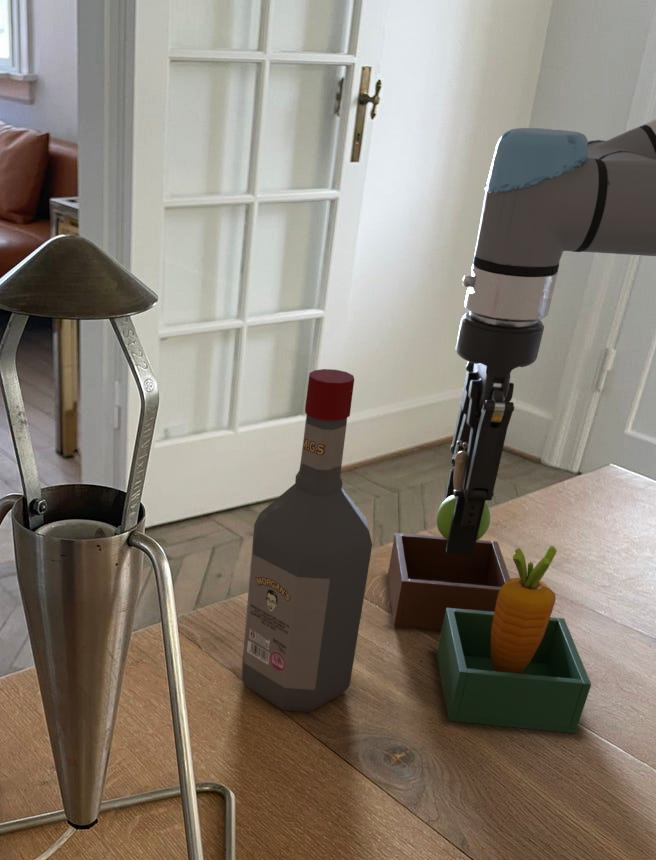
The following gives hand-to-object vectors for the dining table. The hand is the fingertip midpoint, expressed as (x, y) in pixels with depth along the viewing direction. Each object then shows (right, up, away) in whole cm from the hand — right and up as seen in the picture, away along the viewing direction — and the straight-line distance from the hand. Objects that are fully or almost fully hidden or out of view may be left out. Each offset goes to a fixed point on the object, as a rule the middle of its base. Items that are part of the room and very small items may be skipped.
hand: (455, 538), depth 103 cm
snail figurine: (0, -1, 0) cm, 1 cm away
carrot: (+2, -15, -10) cm, 18 cm away
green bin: (+2, -16, -9) cm, 18 cm away
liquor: (-18, -15, -9) cm, 25 cm away
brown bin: (0, -7, +4) cm, 8 cm away
